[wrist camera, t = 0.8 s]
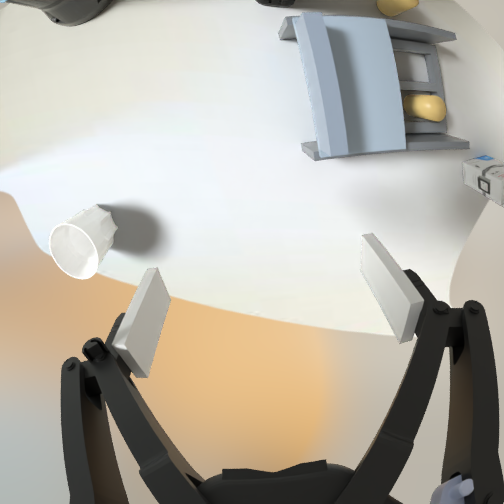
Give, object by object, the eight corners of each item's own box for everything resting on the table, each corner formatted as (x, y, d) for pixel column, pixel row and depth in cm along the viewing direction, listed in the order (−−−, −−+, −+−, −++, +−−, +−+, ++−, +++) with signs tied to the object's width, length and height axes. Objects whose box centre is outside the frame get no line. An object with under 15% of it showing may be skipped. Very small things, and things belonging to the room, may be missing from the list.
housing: (278, 33, 30) (285, 16, 23) (426, 38, 28) (455, 33, 20) (302, 150, 39) (314, 161, 32) (440, 139, 37) (469, 148, 30)
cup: (108, 192, 42) (79, 215, 33) (130, 242, 47) (108, 272, 38) (69, 210, 43) (40, 233, 34) (91, 254, 48) (68, 283, 39)
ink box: (486, 154, 37) (536, 177, 25) (487, 176, 40) (534, 202, 27) (461, 161, 39) (513, 186, 26) (462, 184, 41) (511, 214, 28)
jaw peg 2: (401, 93, 34) (425, 94, 28) (420, 94, 33) (444, 96, 27) (404, 116, 36) (428, 121, 30) (422, 116, 35) (447, 121, 29)
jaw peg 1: (373, -4, 25) (392, -17, 19) (394, -1, 24) (414, -12, 18) (380, 15, 27) (400, 4, 21) (400, 18, 26) (421, 9, 20)
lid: (291, 19, 23) (300, 4, 18) (381, 21, 22) (402, 11, 17) (319, 156, 32) (331, 165, 27) (402, 147, 31) (424, 156, 26)
